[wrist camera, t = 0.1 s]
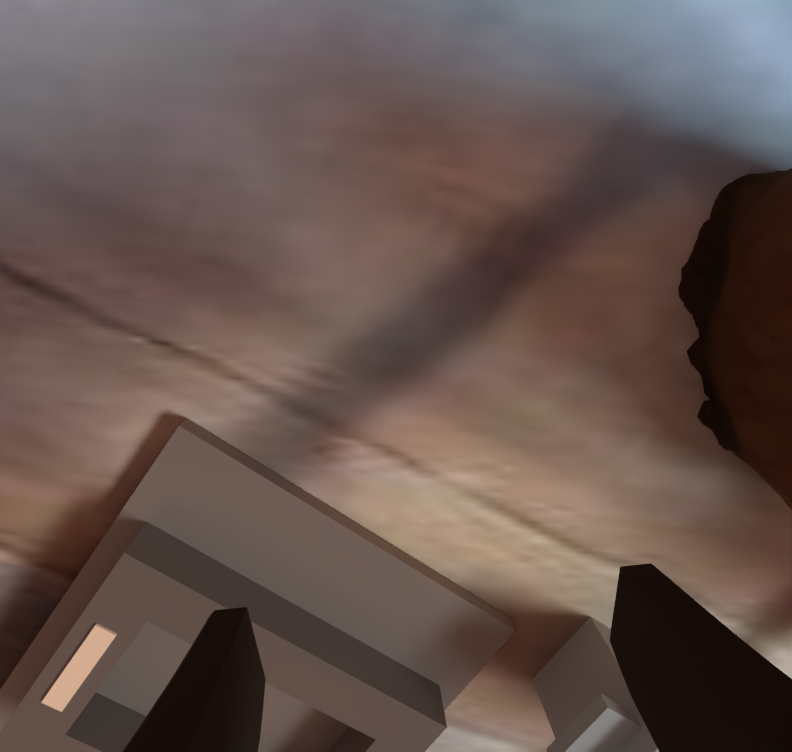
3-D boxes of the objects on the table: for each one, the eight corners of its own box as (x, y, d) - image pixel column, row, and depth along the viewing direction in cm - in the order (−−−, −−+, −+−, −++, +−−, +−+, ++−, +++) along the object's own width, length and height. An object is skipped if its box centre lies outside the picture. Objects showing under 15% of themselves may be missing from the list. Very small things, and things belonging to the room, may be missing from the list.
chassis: (281, 874, 26) (271, 951, 23) (-32, 738, 23) (-86, 809, 20) (510, 617, 23) (531, 670, 20) (185, 418, 20) (157, 448, 17)
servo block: (649, 747, 26) (735, 900, 20) (505, 661, 24) (552, 803, 18) (707, 691, 25) (813, 832, 19) (563, 598, 23) (632, 723, 17)
